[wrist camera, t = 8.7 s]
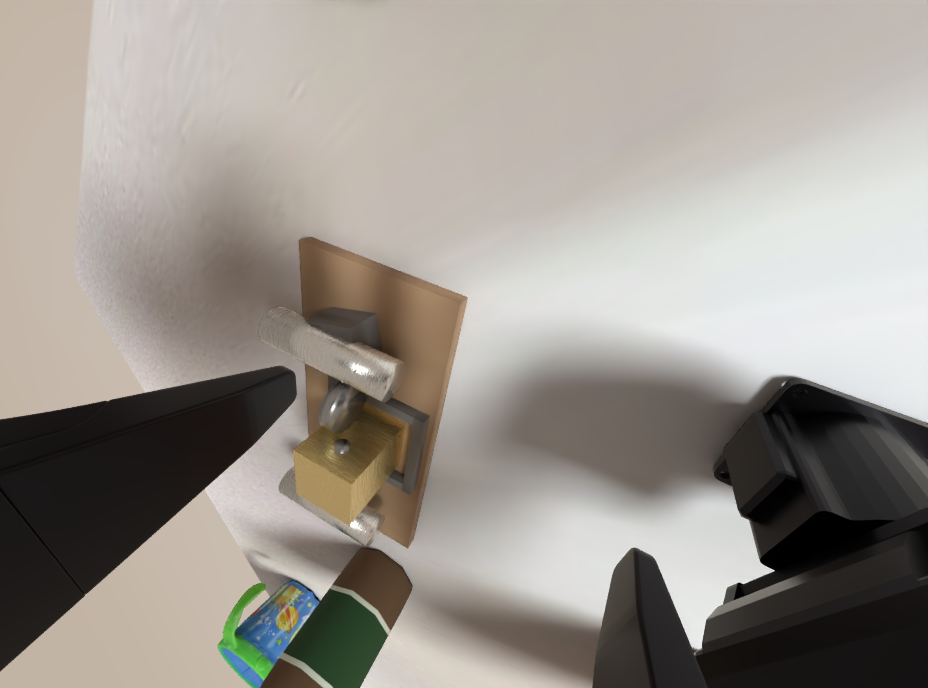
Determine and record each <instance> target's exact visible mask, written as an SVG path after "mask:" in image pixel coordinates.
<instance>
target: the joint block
mask: <svg viewBox="0 0 928 688" xmlns="http://www.w3.org/2000/svg"><path fill="white" fill-rule="evenodd" d="M405 429H406V423H404V422H402V421H400V420H398V419H396V418H394V417H392V416H390V415H388V414H387V413H385V412H383V411H381V410H379V409H377V408H375V407H373V406H371V405H369V404H367V403H365V404H364V407H363V409H362V411H361V413H360V415H359V416H358V418H357V419H356V420H355V422H354V423H353V424H352V425H351V426H350V427H349V428H348V429H347V430H345V431H344V432H342V433H338V434H336V433H334V432H332V431H330V430H328V429H326V428H325V427H323V426H321V427H320V428H319V429H318V430H317V431H315V432H314V433H313V434H312V435H311V436H309V437H308V438H307V439H306V440H305V441H303V442H302V443H301V444H300V445H299V446H298V447H296V448H295V449H294V450H293V453H294V467H295V480H296V493H297V494H299V495H300V496H302V497H303V498H305V499H307V500H308V501H310V502H311V503H313V504H315V505H316V506H318V507H319V508H321V509H322V510H324V511H326V512H327V513H329V514H330V515H332V516H334V517H335V518H337V519H338V520H340V521H342V522H343V523H345V524H346V525H348V526H350V525H351V524H352V522H353V521H354V520H355V519H356V517H357V516H358V515H359V514H360V512H361V511H362V510H363V509H364V507H365V506H366V505H367V504H368V502H369V501H370V500H371V499H372V497H373V496H374V495H375V494H376V492H377V491H378V490H379V489H380V487H381V486H382V485H383V484H384V482H385V481H386V480H387V479H388V477H389V476H390V475H391V474H392V472H393V471H394V470H395V469H396V467H397V466H398V465H399V464H400V458H401V452H402V446H403V440H404V435H405Z"/></svg>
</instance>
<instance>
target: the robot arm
mask: <svg viewBox="0 0 928 688" xmlns="http://www.w3.org/2000/svg"><path fill="white" fill-rule="evenodd" d="M800 388H801V389H805V391H804V392H802V393H799V394H795V393H793V391H795V390H796V389H800ZM296 395H297V390H296V376H295V373H294V372H293V371H292V370H290V369H288V368H286V367H284V366H275V367H270V368H265V369H260V370H255V371H250V372H246V373H241V374H236V375H231V376H226V377H221V378H216V379H211V380H206V381H201V382H196V383H191V384H186V385H181V386H176V387H171V388H167V389H162V390H157V391H152V392H147V393H142V394H137V395H133V396H127V397H122V398H117V399H112V400H110V401H102V402H98V403H92V404H88V405H82V406H77V407H72V408H66V409H61V410H56V411H51V412H45V413H38V414H32V415H26V416H20V417H14V418H7V419H0V671H1V670H2V669H3V668H5V667H6V666H7V665H8V664H9V663H10V662H11V661H12V660H14V659H15V658H16V657H17V656H18V655H19V654H20V653H21V652H22V651H24V650H25V649H26V648H27V647H28V646H29V645H30V644H31V643H33V642H34V641H35V640H36V639H37V638H38V637H39V636H40V635H42V634H43V633H44V632H45V631H46V630H47V629H48V628H49V627H51V626H52V625H53V624H54V623H55V622H56V621H57V620H58V619H60V618H61V617H62V616H63V615H64V614H65V613H66V612H67V611H68V610H70V609H71V608H72V607H73V606H74V605H75V604H76V603H77V602H79V601H80V600H81V599H82V598H83V597H84V596H85V594H87V593H88V592H89V591H91V590H92V589H93V588H94V587H95V586H96V585H97V584H98V583H100V582H101V581H102V580H103V579H104V578H105V577H106V576H107V575H108V574H110V573H111V572H112V571H113V570H114V569H115V568H116V567H117V566H119V565H120V564H121V563H122V562H123V561H124V560H125V559H126V558H128V557H129V556H130V555H131V554H132V553H133V552H134V551H135V550H137V549H138V548H139V547H140V546H141V545H142V544H143V543H144V542H145V541H147V540H148V539H149V538H150V537H151V536H152V535H153V534H154V533H156V532H157V531H158V530H159V529H160V528H161V527H162V526H163V525H165V524H166V523H167V522H168V521H169V520H170V519H171V518H172V517H173V516H175V515H176V514H177V513H178V512H179V511H180V510H181V509H182V508H184V507H185V506H186V505H187V504H188V503H189V502H190V501H191V500H192V499H194V498H195V497H196V496H197V495H198V494H199V493H200V492H201V491H202V490H204V489H205V488H206V487H207V486H208V485H209V484H210V483H212V482H213V481H214V480H215V479H216V478H217V477H218V476H219V475H221V474H222V473H223V472H224V471H225V470H226V469H227V468H228V467H229V466H231V465H232V464H233V463H234V462H235V461H236V460H237V459H238V458H240V457H241V456H242V455H243V454H244V453H245V452H246V451H247V450H248V449H249V448H251V447H252V446H253V445H254V444H255V443H256V442H257V441H258V440H259V439H260V438H261V436H262V435H263V434H264V433H265V432H266V431H267V430H268V429H269V428H270V427H271V426H272V425H273V424H274V423H275V421H276V420H277V419H278V418H279V417H280V416H281V415H282V414H283V413H284V412H285V411H286V410H287V409H288V407H289V406H290V405H291V404H292V403H293V402H294V400H295V398H296ZM713 471H714V476H715V477H716V479H718V480H719V481H721V482H724V483H726V484H728V485H730V486H732V487H733V491H734V495H735V500H736V504H737V508H738V511H739V513H740V515H741V517H744V518H746V519H748V520H749V521H750V525H751V529H752V533H753V536H754V540H755V544H756V548H757V552H758V556H759V559H760V562H761V563H762V564H763V565H765V566H767V567H769V568H771V569H773V570H775V571H774V572H772V573H769V574H767V575H764V576H762V577H760V578H757V579H755V580H753V581H750V582H748V583H745V584H741V583H737V584H734V585H732V586H730V587H728V588H727V590H726V594H725V598H724V603H723V605H721V606H719V607H717V608H716V609H715V611H714V612H713V613H712V614H711V615H710V616H709V617H708V619H707V620H706V625H705V630H704V636H703V641H702V649H698V650H697V651H696V652H695V655H694V652H693V650H692V647H691V645H690V643H689V640H688V638H687V635H686V633H685V630H684V628H683V626H682V623H681V621H680V618H679V616H678V613H677V611H676V609H675V606H674V604H673V601H672V599H671V596H670V594H669V592H668V589H667V587H666V584H665V582H664V579H663V577H662V575H661V572H660V570H659V567H658V565H657V563H656V561H655V559H654V558H653V557H652V556H651V555H649V554H647V553H645V552H643V551H641V550H639V549H638V548H631V549H630V550H629V551H628V552H627V554H626V555H625V556H624V557H623V558H622V559H621V561H620V562H619V563H618V564H617V566H616V567H615V569H614V572H613V575H612V579H611V584H610V588H609V593H608V598H607V603H606V607H605V612H604V617H603V621H602V626H601V631H600V636H599V641H598V646H597V651H596V659H595V667H594V677H593V687H592V688H928V423H925V422H922V421H919V420H916V419H914V418H911V417H908V416H905V415H902V414H900V413H897V412H894V411H891V410H888V409H886V408H883V407H880V406H877V405H874V404H872V403H869V402H866V401H863V400H860V399H858V398H855V397H852V396H849V395H846V394H844V393H841V392H838V391H835V390H832V389H830V388H827V387H824V386H821V385H818V384H816V383H813V382H810V381H807V380H804V379H793V380H790V381H788V382H787V383H785V384H784V385H783V387H782V388H781V389H780V390H779V391H778V392H777V393H776V395H775V396H774V397H773V398H772V399H771V400H770V401H769V403H768V404H767V405H766V406H765V407H764V408H763V409H762V411H761V412H757V413H754V414H753V415H752V416H751V417H750V418H749V419H748V420H747V422H746V423H745V424H744V425H743V426H742V427H741V429H740V430H739V431H738V432H737V433H736V434H735V436H734V437H733V438H732V439H731V440H730V441H729V442H728V444H727V445H726V446H725V447H724V454H723V455H722V456H721V458H720V459H719V460H718V461H717V462H716V463H715V464H714V466H713ZM722 471H728V472H729V473H722Z"/></svg>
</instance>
